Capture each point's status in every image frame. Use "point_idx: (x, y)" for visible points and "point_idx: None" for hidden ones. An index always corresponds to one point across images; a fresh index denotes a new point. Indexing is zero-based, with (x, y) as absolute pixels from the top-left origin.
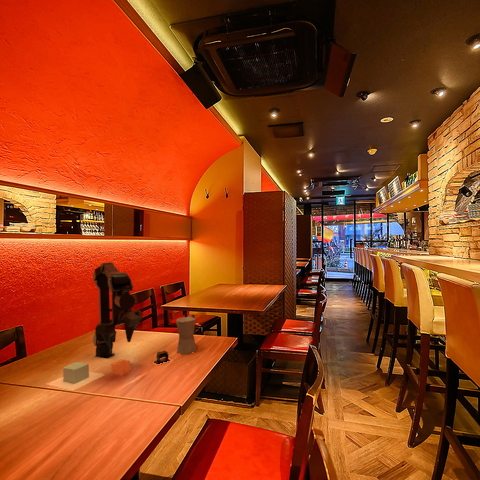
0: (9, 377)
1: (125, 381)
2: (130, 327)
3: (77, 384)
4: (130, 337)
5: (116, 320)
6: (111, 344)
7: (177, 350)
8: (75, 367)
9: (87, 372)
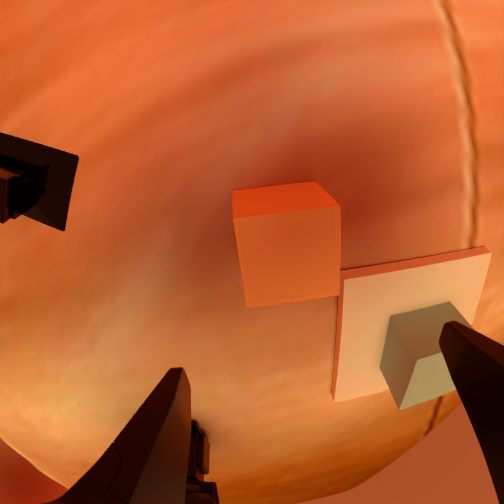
0: (398, 453)
1: (331, 125)
2: None
3: (453, 287)
4: (166, 407)
5: None
6: (495, 344)
7: None
8: None
9: (407, 330)
